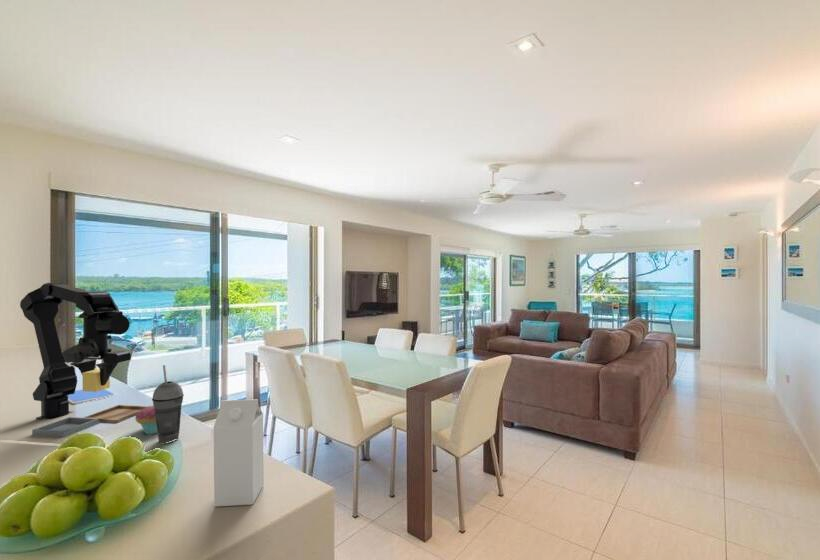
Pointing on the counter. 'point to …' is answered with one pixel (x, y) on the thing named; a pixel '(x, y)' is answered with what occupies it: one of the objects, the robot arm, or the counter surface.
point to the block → (93, 381)
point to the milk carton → (238, 453)
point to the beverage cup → (168, 409)
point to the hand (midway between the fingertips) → (96, 385)
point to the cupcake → (147, 420)
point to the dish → (65, 427)
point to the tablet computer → (87, 396)
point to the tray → (117, 413)
